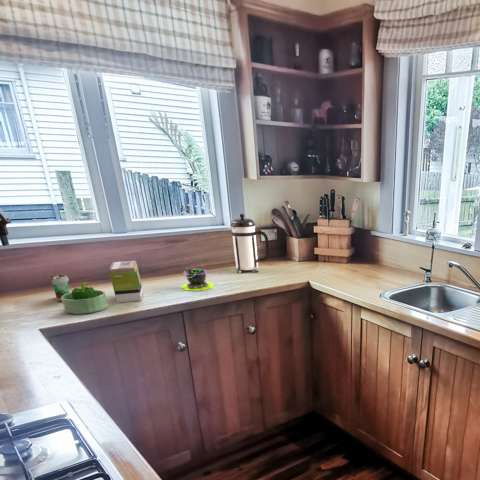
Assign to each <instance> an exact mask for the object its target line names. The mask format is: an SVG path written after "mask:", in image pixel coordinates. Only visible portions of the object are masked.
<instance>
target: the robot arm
mask: <svg viewBox="0 0 480 480" xmlns="http://www.w3.org/2000/svg"><path fill="white" fill-rule="evenodd" d="M11 223H12V220H11V218H10V217H9V216H8V215H7V214H6V213H5V212H4V210H3V209H2V208H1V207H0V243H1V245H2V246H3V247H6V246H9V245H10V242H9V239H8V235H9V231H8V227H7V225H8V224H11Z"/></svg>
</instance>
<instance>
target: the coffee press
mask: <svg viewBox="0 0 480 480" xmlns="http://www.w3.org/2000/svg"><path fill="white" fill-rule="evenodd" d="M227 230H228V231H231V236H232V243H233V253H234V261H235V267H236V269H237V270H236V273H237V274H241V273H242V272H243V271H254V272H255V273H259V271H260V270H259V262H266V261H267V260H268V259H269V258H270V243H269V237H268V235H267V233H266V232H264V231H262V230H256V223H255V221H254V220H253V219H251V218H246V217H245V214H244V213H240V214H239V218H235V219H233V220H231V222H230V226H229V227H228V228H227ZM256 235H261V236H263V237H264V243H265V255H264V257H258V248H257V237H256Z"/></svg>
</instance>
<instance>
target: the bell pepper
mask: <svg viewBox="0 0 480 480" xmlns="http://www.w3.org/2000/svg"><path fill="white" fill-rule="evenodd" d="M88 285H89V282H83V283H81V285H80V288H79V287H74V288H73V289H72V290H71V292H72V293H71V292H70V293H71V294H72V297H73V300H81V299H89V298H94V297H96V295H95V291H94V290H95V288H94V287H92V286H89V287H88Z"/></svg>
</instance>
